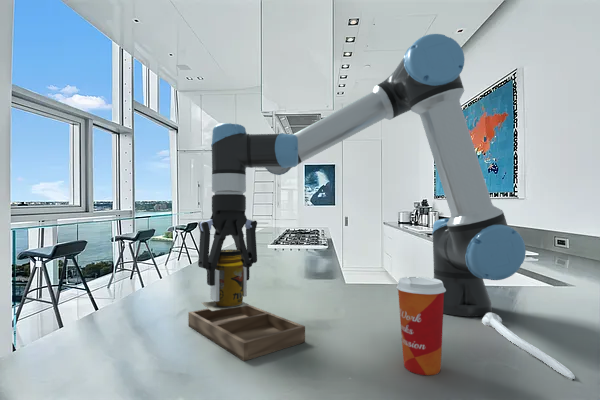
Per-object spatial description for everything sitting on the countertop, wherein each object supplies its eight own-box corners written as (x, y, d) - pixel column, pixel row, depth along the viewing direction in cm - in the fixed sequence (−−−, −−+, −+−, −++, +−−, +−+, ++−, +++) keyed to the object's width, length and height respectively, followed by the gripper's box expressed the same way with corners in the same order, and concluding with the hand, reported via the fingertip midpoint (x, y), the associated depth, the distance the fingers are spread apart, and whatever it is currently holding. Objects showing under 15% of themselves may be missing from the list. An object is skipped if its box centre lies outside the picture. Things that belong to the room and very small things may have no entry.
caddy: (305, 341, 68) (305, 326, 68) (243, 361, 60) (243, 343, 60) (241, 314, 87) (241, 302, 87) (188, 325, 79) (188, 312, 79)
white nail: (595, 384, 52) (595, 364, 52) (566, 383, 52) (566, 363, 52) (497, 323, 80) (497, 311, 80) (479, 323, 80) (478, 310, 80)
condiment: (249, 305, 77) (249, 250, 77) (212, 311, 72) (212, 253, 73) (236, 299, 83) (236, 248, 84) (201, 304, 78) (201, 250, 79)
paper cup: (390, 358, 60) (389, 276, 61) (433, 356, 61) (432, 275, 61) (408, 380, 52) (406, 286, 53) (457, 377, 53) (455, 284, 54)
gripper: (256, 195, 88) (256, 288, 87) (180, 193, 76) (180, 301, 75) (273, 194, 82) (273, 294, 81) (194, 191, 70) (194, 308, 69)
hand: (228, 297), depth 78 cm, fingers closed on condiment, 6 cm apart
